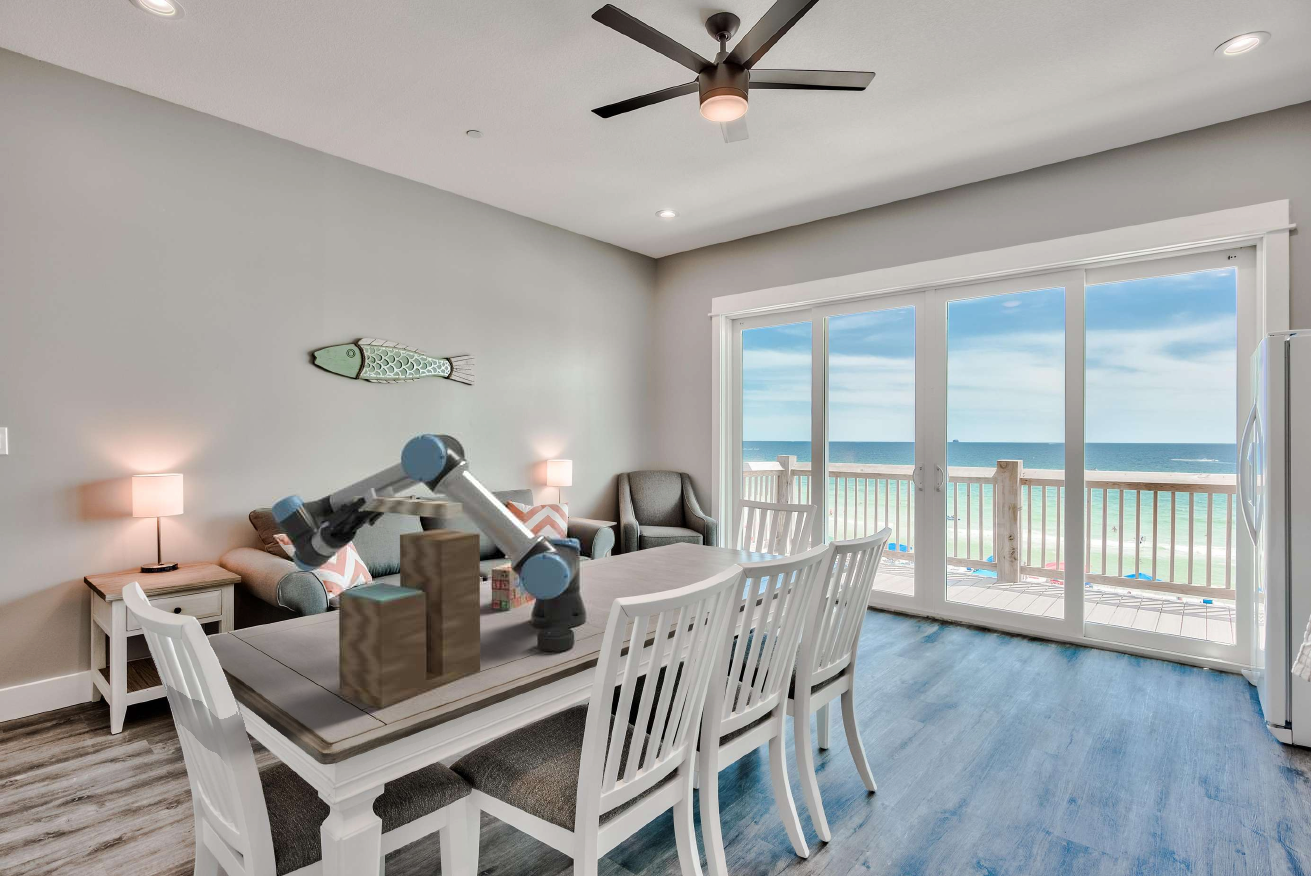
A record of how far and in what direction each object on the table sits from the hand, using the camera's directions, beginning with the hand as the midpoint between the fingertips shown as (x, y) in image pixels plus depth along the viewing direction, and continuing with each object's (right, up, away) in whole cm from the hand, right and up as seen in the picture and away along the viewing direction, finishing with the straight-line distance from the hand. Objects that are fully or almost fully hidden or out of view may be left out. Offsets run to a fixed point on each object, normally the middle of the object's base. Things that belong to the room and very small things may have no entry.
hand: (382, 492), depth 154 cm
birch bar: (+7, -4, -5) cm, 9 cm away
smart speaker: (+40, -38, +5) cm, 56 cm away
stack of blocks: (+22, -38, +49) cm, 66 cm away
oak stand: (+13, -38, -17) cm, 44 cm away
